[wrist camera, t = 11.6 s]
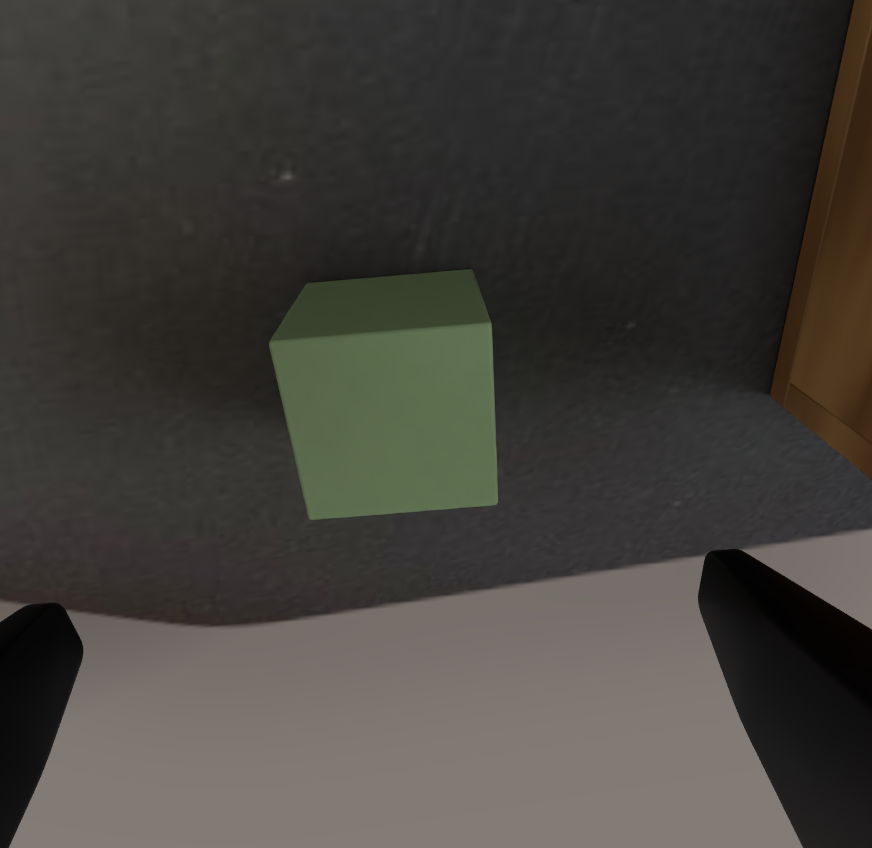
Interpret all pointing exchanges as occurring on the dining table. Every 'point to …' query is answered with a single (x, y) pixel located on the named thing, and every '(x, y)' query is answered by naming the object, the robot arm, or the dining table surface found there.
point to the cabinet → (837, 272)
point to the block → (390, 394)
